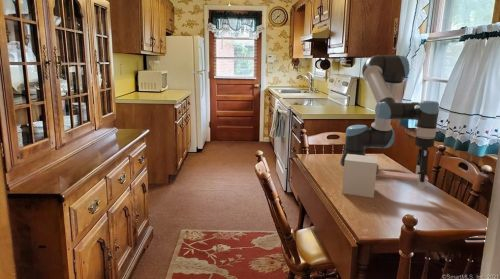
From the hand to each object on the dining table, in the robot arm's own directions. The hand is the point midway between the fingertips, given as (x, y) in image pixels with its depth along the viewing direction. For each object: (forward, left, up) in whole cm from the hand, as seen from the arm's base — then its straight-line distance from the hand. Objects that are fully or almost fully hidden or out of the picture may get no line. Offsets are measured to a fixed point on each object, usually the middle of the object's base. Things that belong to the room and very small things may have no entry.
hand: (419, 183), depth 164 cm
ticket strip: (0, -9, +2) cm, 9 cm away
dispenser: (0, -25, -7) cm, 26 cm away
